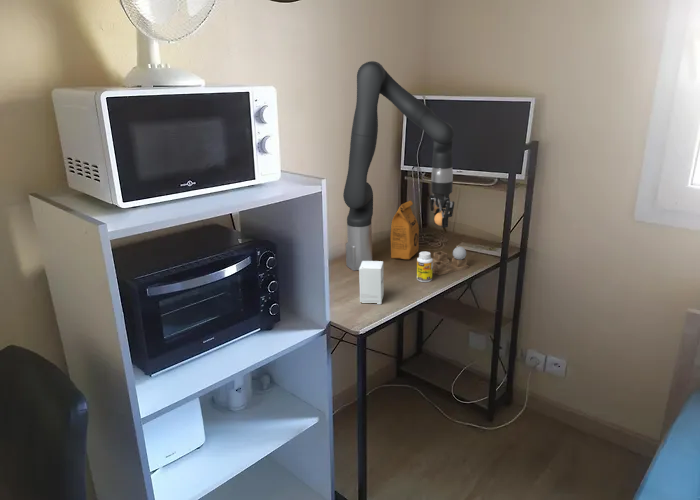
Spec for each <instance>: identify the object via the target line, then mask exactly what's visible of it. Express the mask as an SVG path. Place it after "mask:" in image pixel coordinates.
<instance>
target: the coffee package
mask: <svg viewBox="0 0 700 500" xmlns="http://www.w3.org/2000/svg"><path fill="white" fill-rule="evenodd" d="M413 204H414V203H413V201H412V200H408V201H406V202H404V203H402V204H401V205H400V206H399V207H398V209H397V211H396V212H395V214H394V215H393V218H392V220H391V226H390V258H391V259H401V260H410V259H411V258H412V257H414V256H415V255H416V254H417V253H418V252H419V249H420V247H419V237H420V235H419V234H420V231H419V230H420V228H419V223H418V220H417V218H416V216H415V215H414V213H413V211H412V207H411V206H413Z"/></svg>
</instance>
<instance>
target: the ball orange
mask: <svg viewBox="0 0 700 500" xmlns="http://www.w3.org/2000/svg"><path fill="white" fill-rule="evenodd" d="M444 214H445V212H444ZM434 221H435V223H436V224H435V223H434V224H435V225H437V226H440V227H442V213H441V212H439V213H437V214H436V215H435V217H434V216H433V222H434Z"/></svg>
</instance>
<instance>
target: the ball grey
mask: <svg viewBox="0 0 700 500" xmlns="http://www.w3.org/2000/svg"><path fill="white" fill-rule="evenodd" d="M452 256H453V258H455V259H457V260H462V259H464V258H465V259H466V256H467V251H466V249H465V248H464V247H463V246H456V247H455V248H454V249H453V250H452Z"/></svg>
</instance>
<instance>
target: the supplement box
mask: <svg viewBox="0 0 700 500" xmlns="http://www.w3.org/2000/svg"><path fill="white" fill-rule="evenodd" d="M358 274H359V275H358V281H359V303H360V302H362V303H377V304H376V305H382V303H383V298H384V296H385V295H384V293H385V292H384V283H385V282H384V279H385V278H384V276H385V275H384V261H383V260H382V261H381V260H380V261H379V260H372V261H362V263H361V265H360V268H359V270H358Z"/></svg>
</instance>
